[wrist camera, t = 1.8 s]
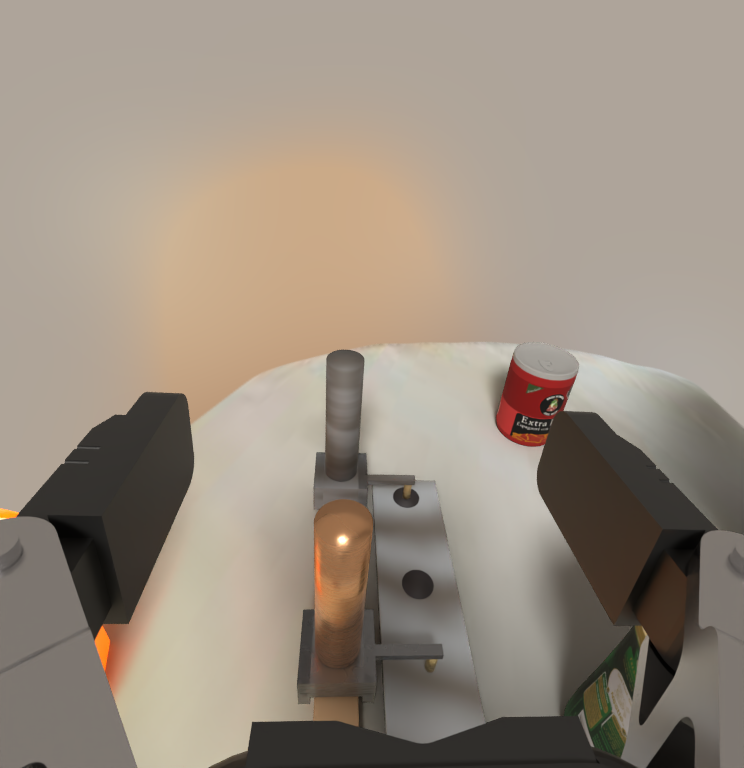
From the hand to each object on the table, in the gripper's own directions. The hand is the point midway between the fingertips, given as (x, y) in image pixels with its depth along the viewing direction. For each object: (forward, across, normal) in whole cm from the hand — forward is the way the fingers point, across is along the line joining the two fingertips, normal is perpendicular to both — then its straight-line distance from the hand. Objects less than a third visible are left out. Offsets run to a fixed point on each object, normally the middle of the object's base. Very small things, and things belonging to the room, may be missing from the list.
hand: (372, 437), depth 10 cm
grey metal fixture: (+19, -5, +29) cm, 35 cm away
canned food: (+42, -25, +26) cm, 56 cm away
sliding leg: (+12, -3, +29) cm, 31 cm away
